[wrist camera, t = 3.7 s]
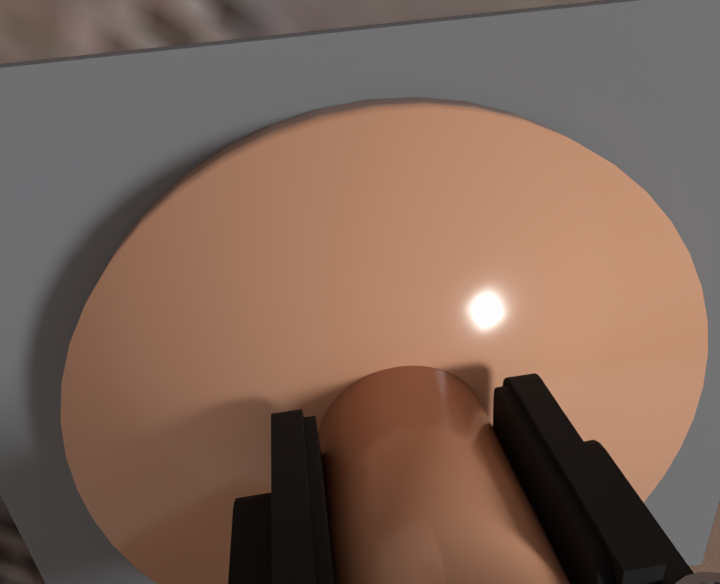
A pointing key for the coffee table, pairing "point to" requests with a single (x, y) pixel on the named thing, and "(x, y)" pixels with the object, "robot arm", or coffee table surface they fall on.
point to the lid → (379, 339)
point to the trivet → (295, 97)
